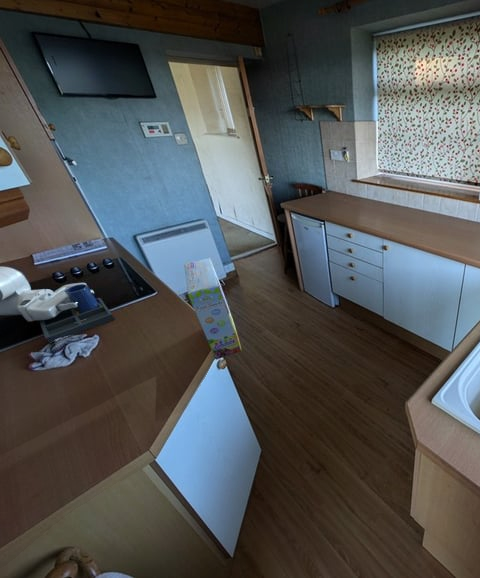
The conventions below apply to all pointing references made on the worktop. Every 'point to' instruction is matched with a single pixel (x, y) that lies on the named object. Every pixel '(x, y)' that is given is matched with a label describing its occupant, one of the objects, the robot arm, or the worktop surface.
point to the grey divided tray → (66, 318)
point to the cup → (82, 298)
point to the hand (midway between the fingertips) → (85, 298)
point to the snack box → (211, 308)
